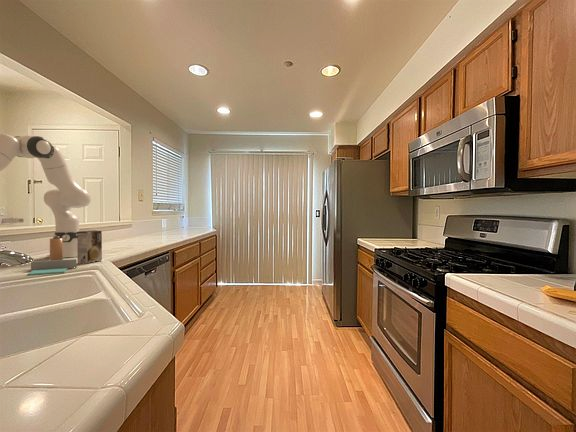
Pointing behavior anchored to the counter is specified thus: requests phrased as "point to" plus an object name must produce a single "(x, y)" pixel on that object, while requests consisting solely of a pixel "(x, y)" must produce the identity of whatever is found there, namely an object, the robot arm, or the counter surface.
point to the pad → (48, 271)
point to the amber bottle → (56, 248)
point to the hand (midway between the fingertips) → (20, 220)
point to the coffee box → (89, 246)
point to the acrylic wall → (53, 264)
